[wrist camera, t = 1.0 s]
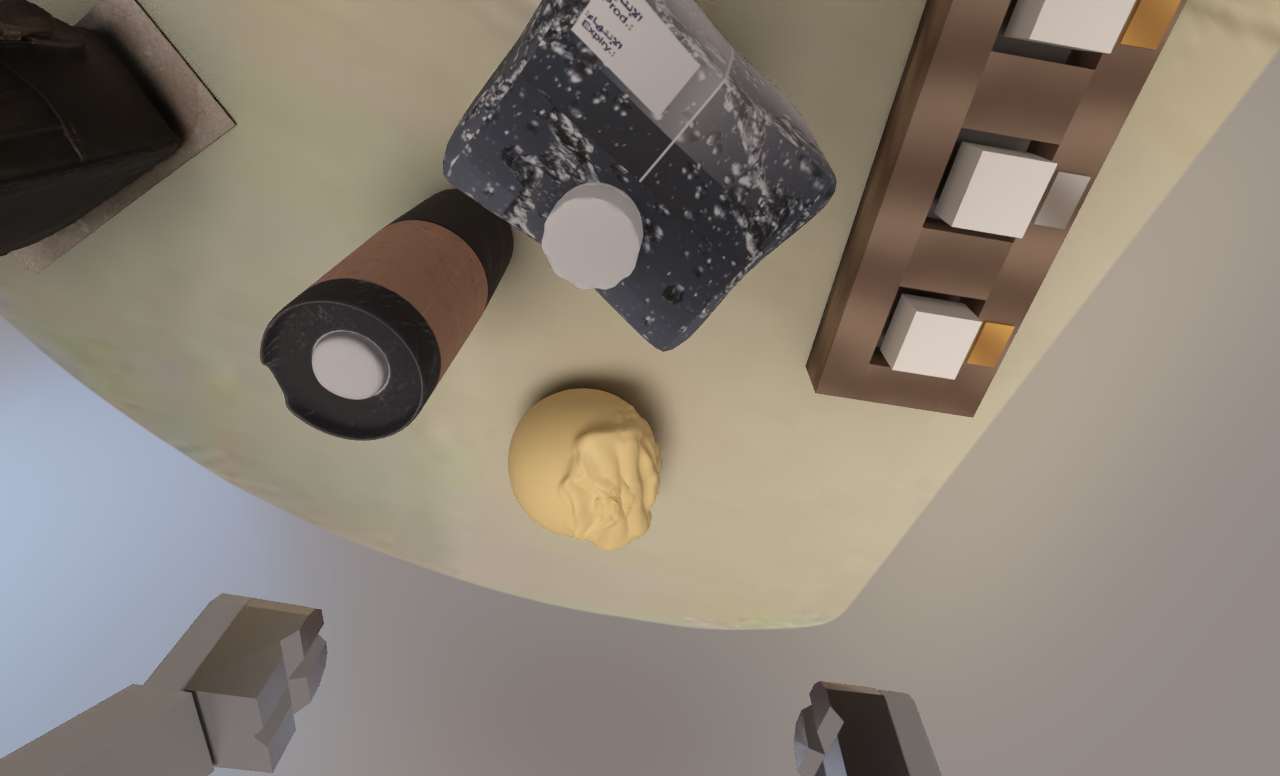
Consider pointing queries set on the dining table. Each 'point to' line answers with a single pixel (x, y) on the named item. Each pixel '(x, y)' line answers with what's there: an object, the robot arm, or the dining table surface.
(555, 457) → the sculpture
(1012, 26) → the button
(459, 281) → the travel mug
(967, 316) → the button
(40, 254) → the shoulder bag
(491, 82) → the juice carton
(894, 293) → the button board
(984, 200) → the button middle
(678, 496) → the dining table surface
